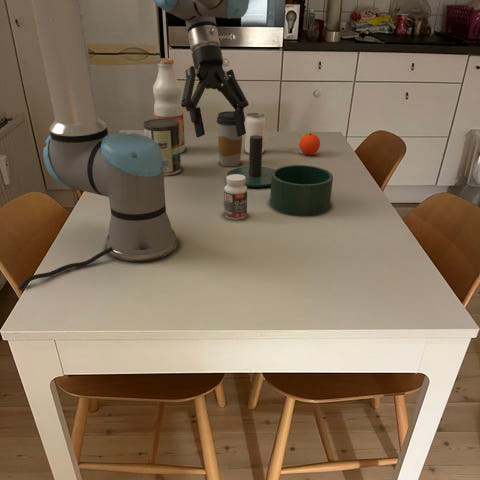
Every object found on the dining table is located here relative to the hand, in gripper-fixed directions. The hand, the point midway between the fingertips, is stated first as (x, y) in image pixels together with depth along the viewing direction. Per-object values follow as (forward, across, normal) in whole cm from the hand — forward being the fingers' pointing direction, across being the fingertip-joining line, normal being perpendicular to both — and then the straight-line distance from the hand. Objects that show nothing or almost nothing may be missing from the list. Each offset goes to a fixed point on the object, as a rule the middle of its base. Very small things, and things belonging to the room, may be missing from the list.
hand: (221, 135), depth 133 cm
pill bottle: (+21, -4, -5) cm, 22 cm away
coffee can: (+2, 0, +31) cm, 31 cm away
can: (-1, +34, +26) cm, 43 cm away
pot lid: (+10, +17, +9) cm, 22 cm away
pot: (+21, +14, -10) cm, 27 cm away
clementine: (+3, +47, +14) cm, 49 cm away
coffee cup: (+3, +20, +23) cm, 31 cm away
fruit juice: (-7, +13, +44) cm, 46 cm away
